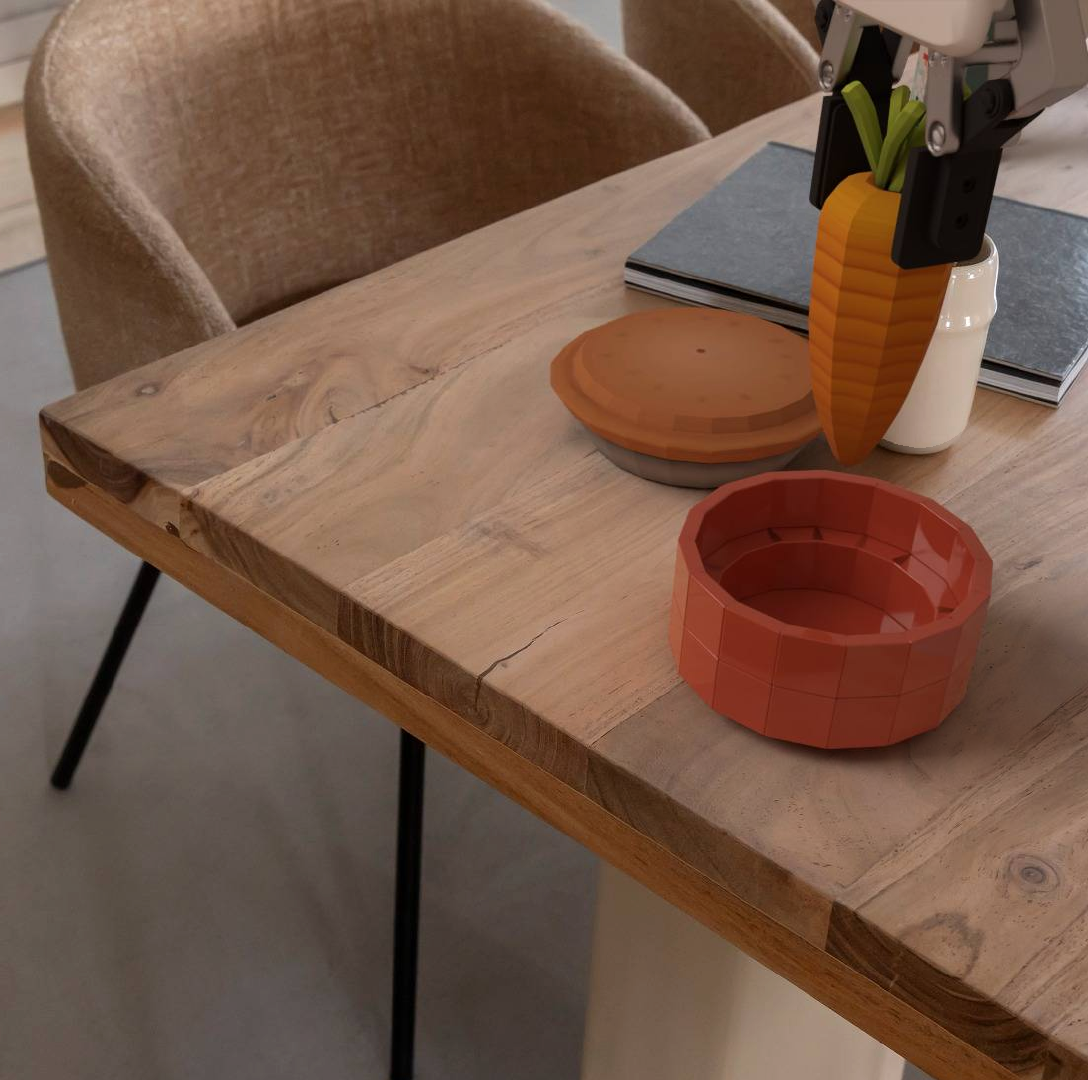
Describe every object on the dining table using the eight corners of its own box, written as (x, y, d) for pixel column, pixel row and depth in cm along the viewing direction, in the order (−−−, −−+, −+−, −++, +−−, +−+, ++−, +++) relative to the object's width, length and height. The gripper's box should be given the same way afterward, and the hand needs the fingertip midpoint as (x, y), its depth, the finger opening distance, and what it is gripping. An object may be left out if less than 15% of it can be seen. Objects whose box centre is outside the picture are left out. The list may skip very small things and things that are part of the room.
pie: (883, 416, 80) (899, 334, 77) (759, 547, 69) (772, 458, 66) (639, 343, 87) (645, 265, 84) (494, 452, 76) (494, 367, 73)
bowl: (766, 549, 69) (781, 440, 66) (1011, 655, 63) (1043, 541, 59) (612, 674, 61) (620, 558, 58) (873, 809, 55) (900, 689, 52)
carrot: (756, 462, 56) (808, 71, 47) (835, 421, 59) (899, 43, 50) (860, 515, 53) (936, 108, 44) (938, 469, 56) (1025, 76, 47)
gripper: (1349, -386, 34) (1141, 317, 45) (942, -410, 47) (856, 142, 58) (1089, -384, 32) (935, 353, 43) (737, -409, 45) (687, 163, 56)
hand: (891, 226), depth 50 cm, fingers closed on carrot, 4 cm apart
